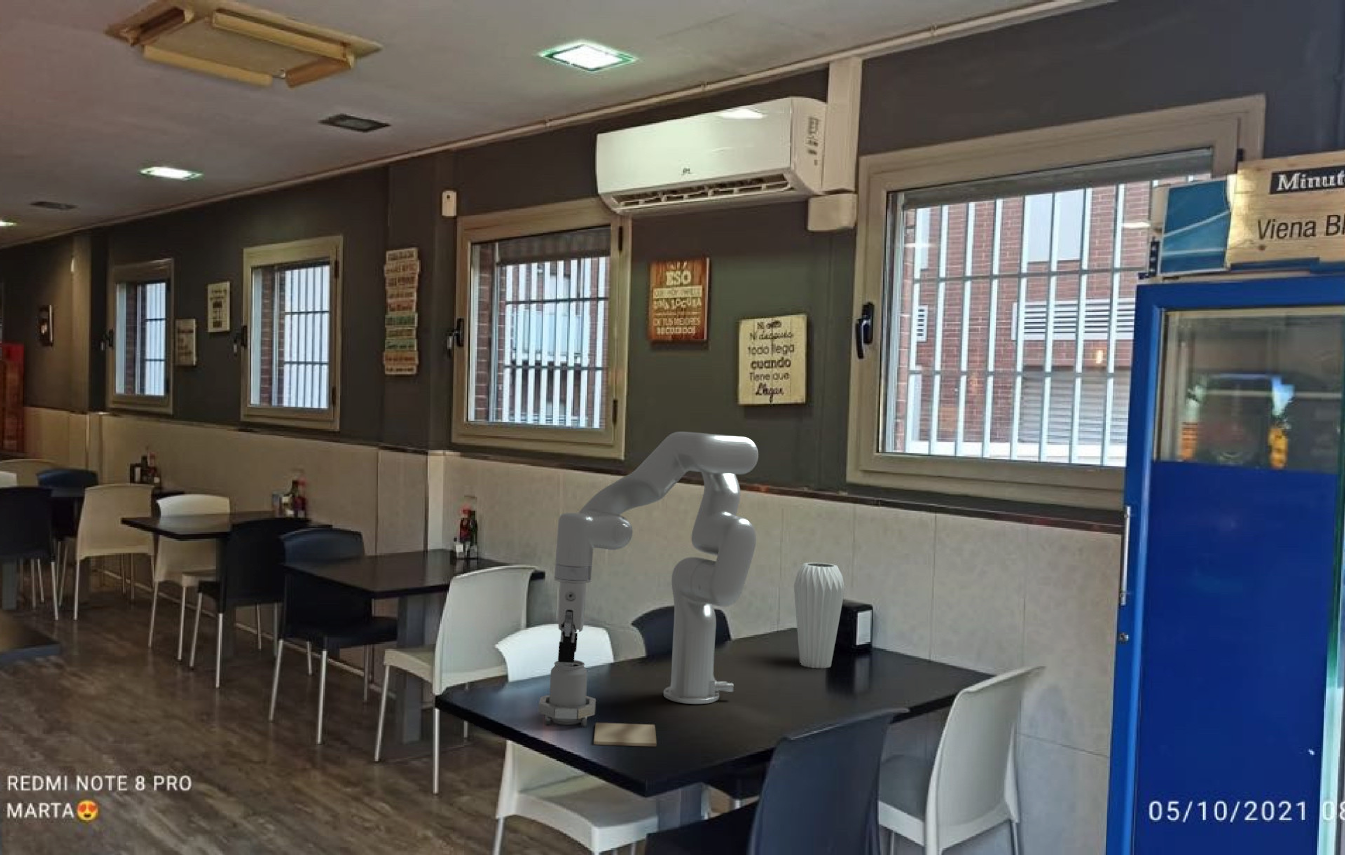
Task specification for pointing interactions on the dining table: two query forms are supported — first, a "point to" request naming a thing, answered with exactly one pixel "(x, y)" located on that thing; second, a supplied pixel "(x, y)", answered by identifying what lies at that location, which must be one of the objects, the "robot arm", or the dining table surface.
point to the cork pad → (625, 734)
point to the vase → (818, 612)
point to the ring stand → (567, 710)
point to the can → (568, 687)
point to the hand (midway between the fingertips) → (567, 656)
